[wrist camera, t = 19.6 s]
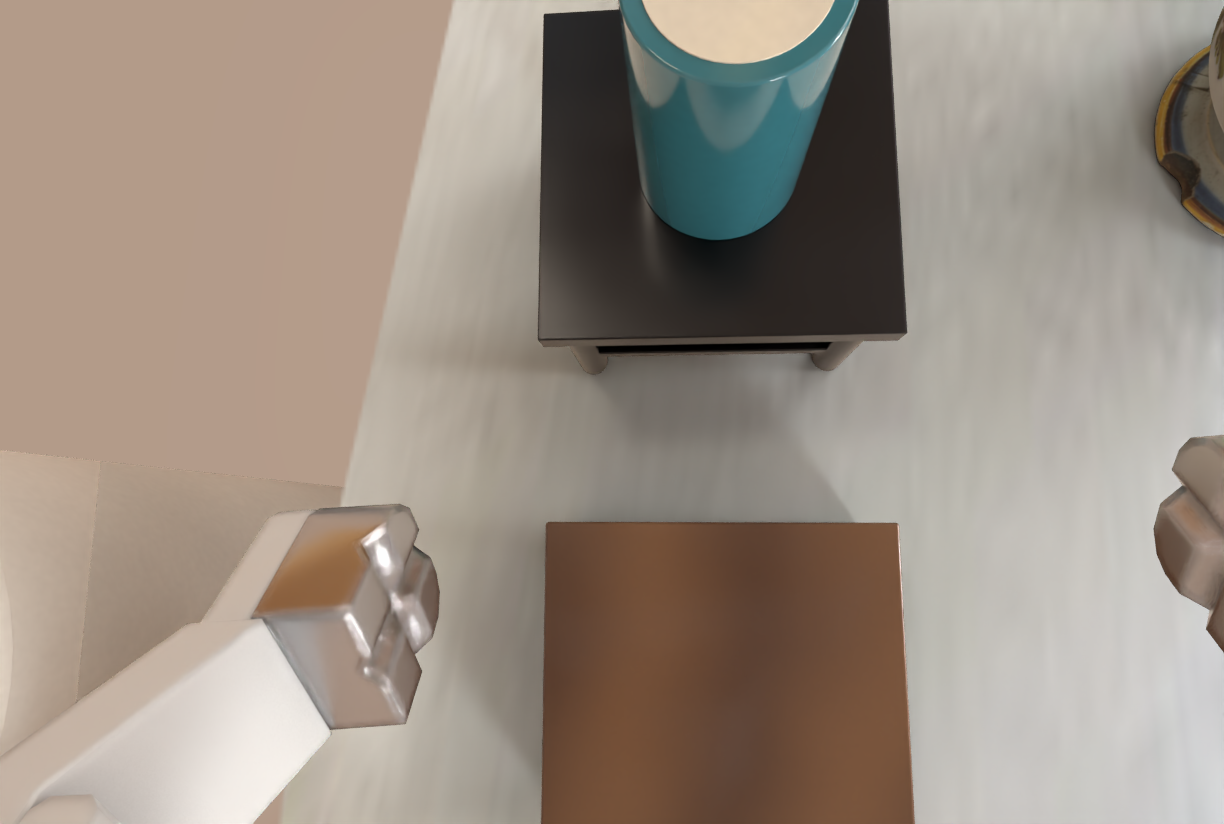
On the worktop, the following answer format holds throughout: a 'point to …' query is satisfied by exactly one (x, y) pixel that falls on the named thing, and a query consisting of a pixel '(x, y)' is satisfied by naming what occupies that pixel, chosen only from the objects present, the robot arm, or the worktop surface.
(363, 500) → the worktop surface
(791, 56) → the cup
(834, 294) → the dark brown wooden table
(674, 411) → the worktop surface
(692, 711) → the brown display stand
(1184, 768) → the worktop surface
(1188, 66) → the apothecary jar
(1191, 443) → the robot arm
